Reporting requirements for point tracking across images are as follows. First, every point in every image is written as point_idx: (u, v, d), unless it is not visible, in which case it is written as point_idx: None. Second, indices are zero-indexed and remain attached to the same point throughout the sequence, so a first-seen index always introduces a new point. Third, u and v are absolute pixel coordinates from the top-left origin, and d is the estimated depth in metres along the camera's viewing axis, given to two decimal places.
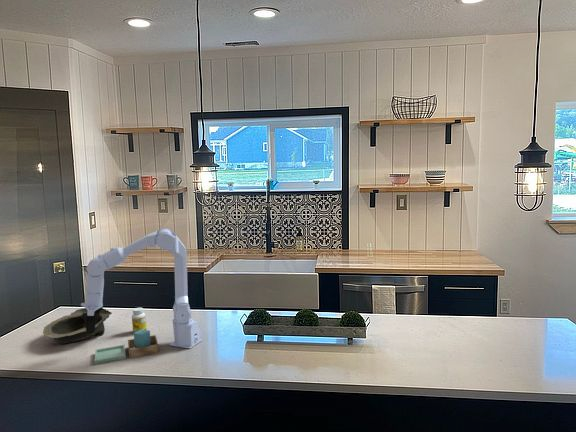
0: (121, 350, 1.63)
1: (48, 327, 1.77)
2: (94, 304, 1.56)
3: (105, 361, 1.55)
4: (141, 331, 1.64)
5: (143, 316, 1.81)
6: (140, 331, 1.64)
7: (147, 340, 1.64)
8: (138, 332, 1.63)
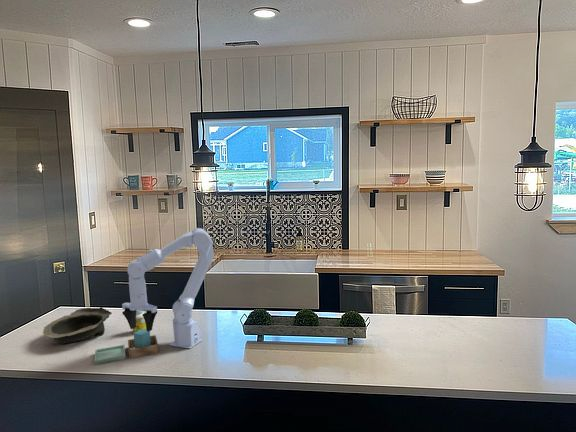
0: (121, 350, 1.63)
1: (48, 327, 1.77)
2: (146, 303, 1.62)
3: (105, 361, 1.55)
4: (141, 331, 1.64)
5: None
6: (140, 331, 1.64)
7: (147, 340, 1.63)
8: (138, 332, 1.63)
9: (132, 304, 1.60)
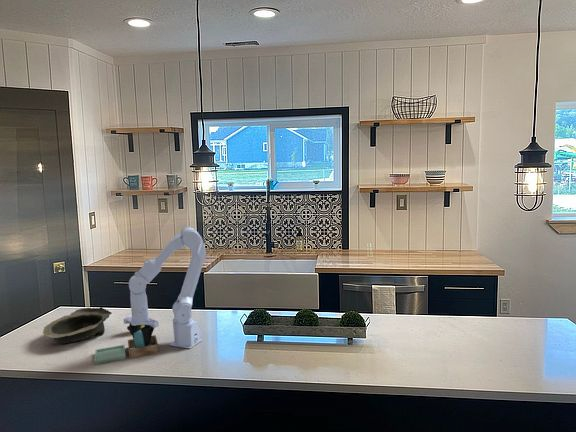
0: (121, 350, 1.63)
1: (48, 327, 1.77)
2: (147, 318, 1.62)
3: (105, 361, 1.55)
4: None
5: None
6: (140, 331, 1.64)
7: None
8: (138, 332, 1.63)
9: (133, 319, 1.60)
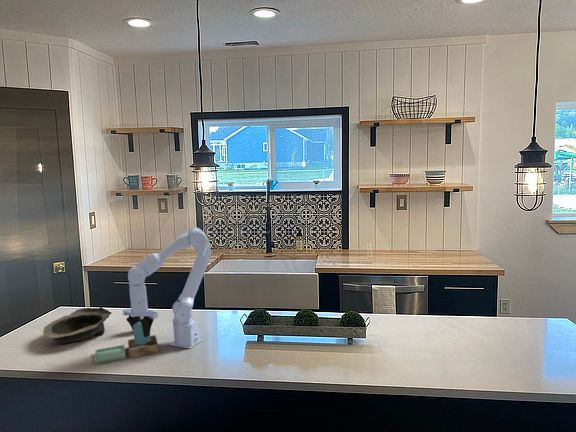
0: (121, 350, 1.63)
1: (48, 327, 1.77)
2: (147, 309, 1.62)
3: (105, 361, 1.55)
4: (140, 323, 1.63)
5: None
6: (139, 323, 1.64)
7: None
8: (137, 324, 1.63)
9: (133, 310, 1.60)
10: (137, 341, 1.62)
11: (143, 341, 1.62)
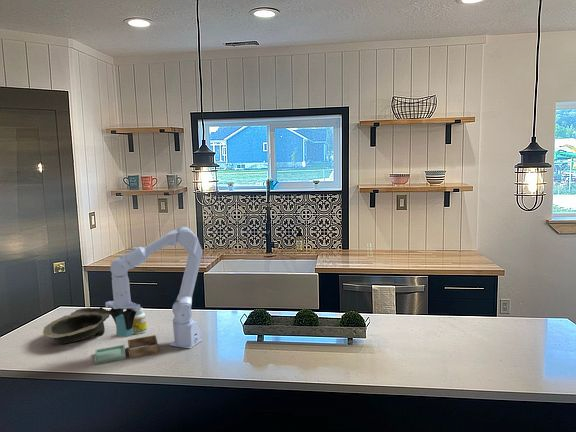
0: (121, 350, 1.63)
1: (48, 327, 1.77)
2: (129, 301, 1.59)
3: (105, 361, 1.55)
4: None
5: (143, 316, 1.81)
6: (122, 315, 1.61)
7: None
8: (120, 316, 1.60)
9: (115, 302, 1.58)
10: (119, 334, 1.60)
11: (125, 334, 1.59)
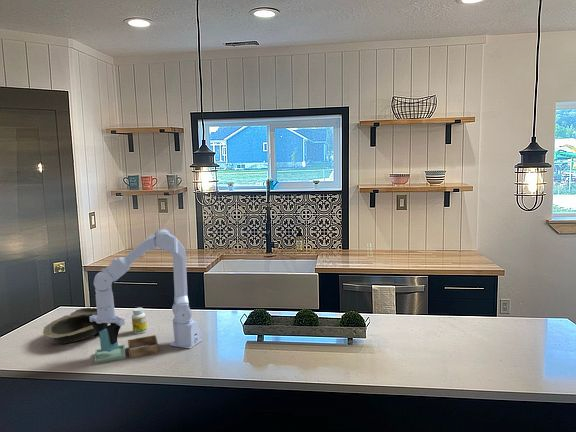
0: (121, 350, 1.63)
1: (48, 327, 1.77)
2: (113, 316, 1.58)
3: (105, 361, 1.55)
4: None
5: (143, 316, 1.81)
6: (106, 329, 1.60)
7: None
8: (104, 330, 1.59)
9: (99, 317, 1.56)
10: (103, 348, 1.58)
11: (109, 348, 1.58)
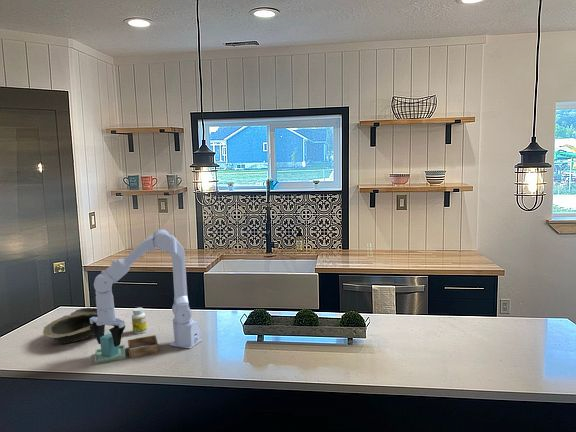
0: (121, 350, 1.63)
1: (48, 327, 1.77)
2: (114, 318, 1.58)
3: (105, 361, 1.55)
4: (108, 335, 1.60)
5: (143, 316, 1.81)
6: (107, 335, 1.60)
7: None
8: (105, 336, 1.59)
9: (99, 319, 1.56)
10: (104, 354, 1.59)
11: (110, 354, 1.58)
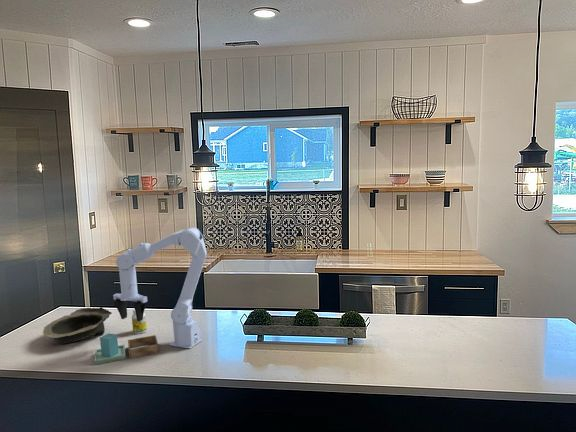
0: (121, 350, 1.63)
1: (48, 327, 1.77)
2: (136, 294, 1.66)
3: (105, 361, 1.55)
4: (108, 335, 1.60)
5: (143, 316, 1.81)
6: (107, 335, 1.60)
7: (114, 344, 1.59)
8: (105, 336, 1.59)
9: (123, 294, 1.64)
10: (104, 354, 1.59)
11: (110, 354, 1.58)
